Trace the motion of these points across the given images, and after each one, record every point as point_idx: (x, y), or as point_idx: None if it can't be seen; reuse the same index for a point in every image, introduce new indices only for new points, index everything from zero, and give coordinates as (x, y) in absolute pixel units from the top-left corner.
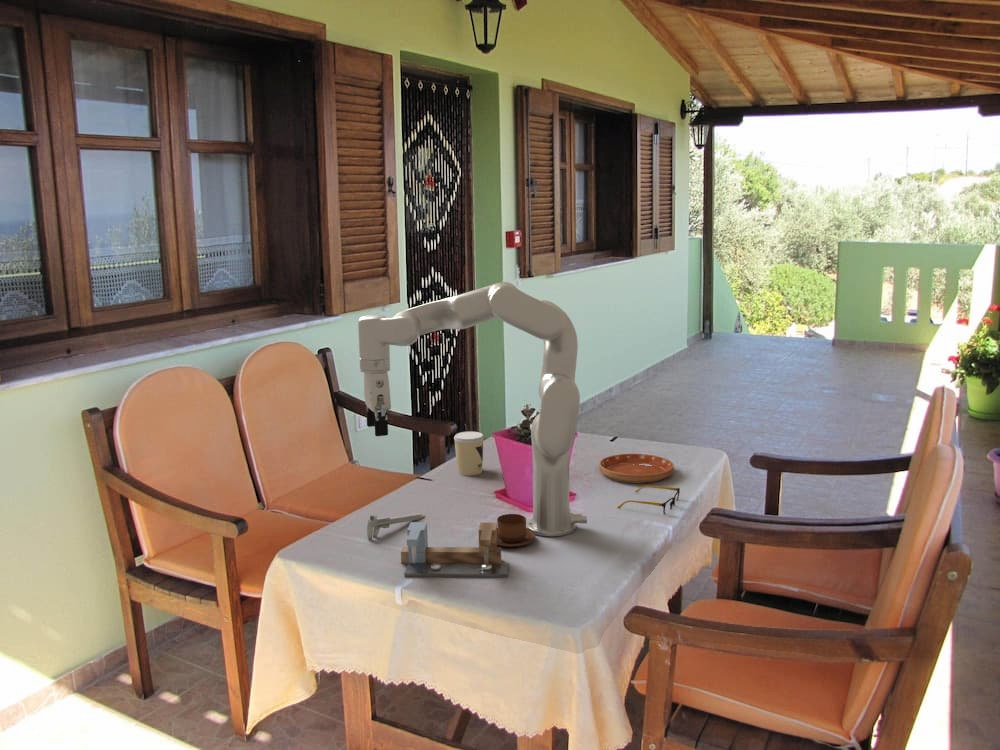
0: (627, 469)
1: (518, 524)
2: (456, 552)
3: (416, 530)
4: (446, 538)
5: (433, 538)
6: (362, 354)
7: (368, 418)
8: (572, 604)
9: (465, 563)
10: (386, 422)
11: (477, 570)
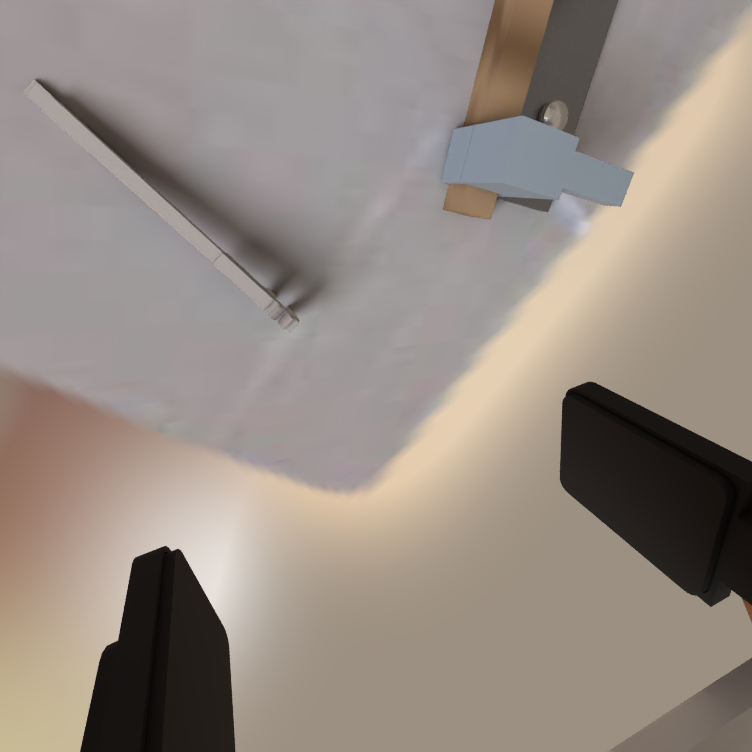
0: None
1: None
2: (544, 28)
3: (573, 167)
4: (312, 26)
5: (305, 84)
6: None
7: (232, 738)
8: None
9: (552, 9)
10: (724, 462)
11: None
